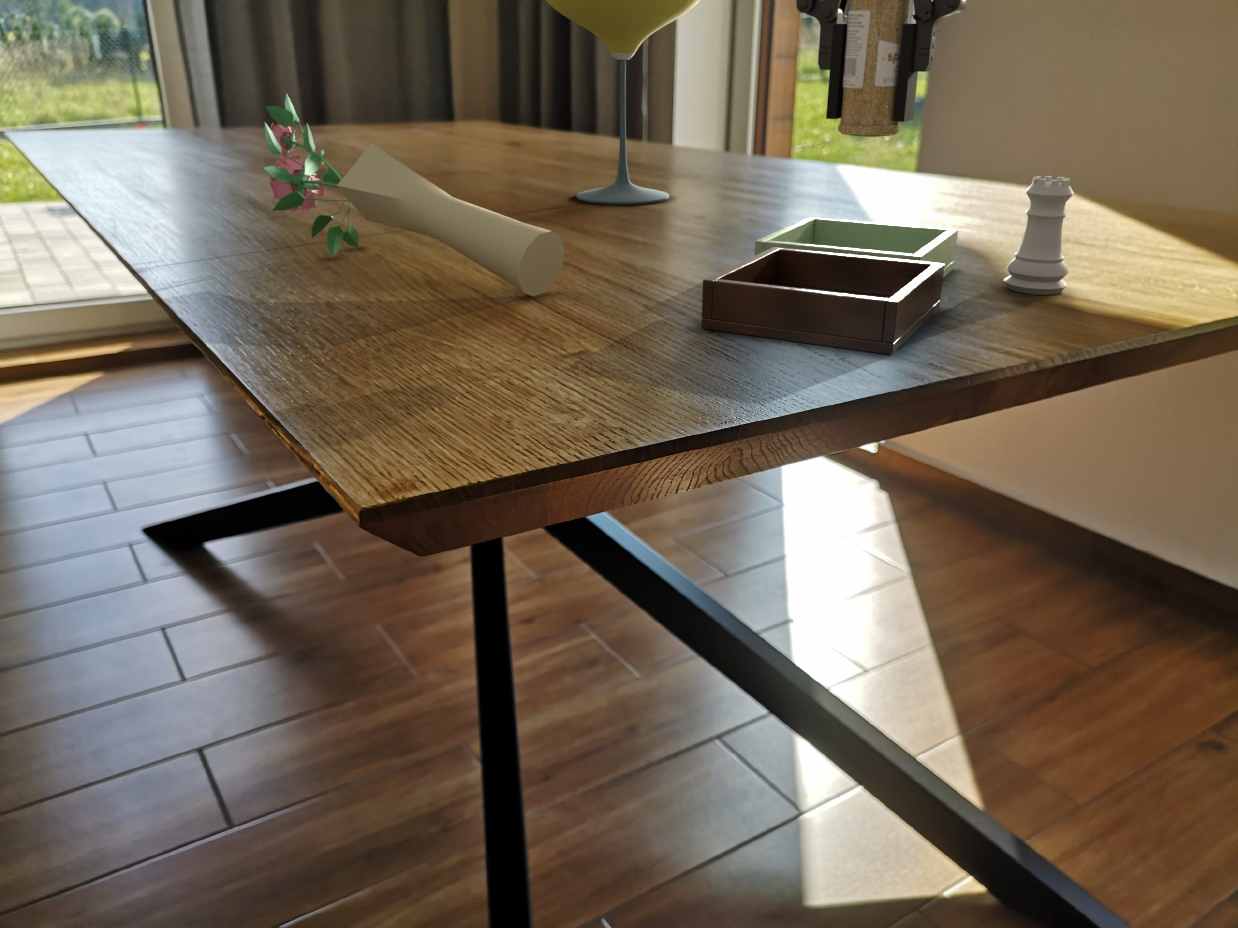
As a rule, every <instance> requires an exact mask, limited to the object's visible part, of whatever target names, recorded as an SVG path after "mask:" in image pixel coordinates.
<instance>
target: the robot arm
mask: <svg viewBox="0 0 1238 928" xmlns="http://www.w3.org/2000/svg"><path fill="white" fill-rule="evenodd" d="M912 1H913V11H914V14H912V15H911V16H912V19H913V20H914V21H915V23H909V24H903V30H902V40H901V50H900V60H899V70H898V80H897V90H896V100H895V110H894V120H893V121H894V122H899V123H905V122H908V121H912V120H914V113H915V105H916V96H917V88H918V87H917V86H918V78H919V77H918V76H919V72H920V73H921V72H923V73H925V72H930V71H931V69H932V68H933V66H934V60H935V51H936V49H935V48H936V41H937V32H938V26H939V25H940V22H941V21H942V20H943V19H945V18H947V17H949V16H952V15H955V14H958V13H961V12H963V11H965V10H966V8H967V7H968V2H969V0H912ZM795 5H796V10H797V11H798V12H799V13H801V14H806V15H808V16H811V17H813V18H815V19H816V20H817V21H818V23H819V27H820V28H819V40H818V41H819V43H818V55H817V64H818V68H819V70H820V71H829V75H828V90H827V101H826V113H825V115H826V116H825V119H826V120H838V119H841V110H842V101H843V86H842V84H843V72H844V59H845V46H846V34H847V23H845V22H846V21H847V20H848V15H847V12H848V11H847V10H848V7H849V5H850V0H796V1H795Z"/></svg>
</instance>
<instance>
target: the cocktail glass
mask: <svg viewBox="0 0 1238 928" xmlns="http://www.w3.org/2000/svg"><path fill="white" fill-rule="evenodd" d="M545 1H546V2H547V3H548V5H549V6H551V7H552V8H553V9H554V10H555V11H557V12H558V13H559V14H561V15H562V16H564V17H565V18H567V19H569V20H570V21H571V22H573V23H575V24H577V25H578V26H580V27H582V28H584V29H586V30H587V31H589V32H590V33H591V34H593V35H594V36H596V37H598V38H599V40H601V41H602V42H603V44H604V45H605V47H606V48H607V49H608V51H609V53H610V54H611V55H612V57H613V58H614V59H616V60H618V61H619V94H620V95H619V154H618V165H617V166H618V167H617V174H616V177H615V181H614V183H612V184H610V185H608V186H604V187H599V188H594V189H588V190H584V191H580V192H578V193H576V196H575V197H576V199H577V200H579V201H581V202H586V203H591V204H601V205H617V206H619V205H620V206H621V205H624V206H625V205H628V206H629V205H646V204H647V205H648V204H654V203H660V202H664V201H667V200H668V199H670V194H669V193H667V192H665V191H661V190H658V189H653V188H646V187H643V186H638V185H637V184H633V183H632V182H631V180H630V175H629V170H628V161H627V160H628V159H627V122H626V121H627V118H626V117H627V115H626V114H627V110H626V108H627V106H626V105H627V104H626V99H627V98H626V93H627V92H626V89H627V87H626V85H627V84H626V83H627V82H626V80H627V79H626V78H627V77H626V76H627V74H626V73H627V66H626V65H627V62H626V61H629V60H630V59H632V58H633V56H635V55H636V52H637V51H638V50H639V47H640V46H641V45H642V43H644V41H645V40H646V39H647V38H649V37H650V36H651V35H653V34H654V33H655V32H657V31H659V30H660V29H663V28H664V27H666V26H667V25H669V24H671V23H673V22H675V21H676V20H678V19H679V18H680V17H682V16H684V15H686V14H687V13H688V12H689V11H691V10H692V9H694V7H695V6H696V5H698V3H699V2H700V1H701V0H545Z"/></svg>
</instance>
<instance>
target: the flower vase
mask: <svg viewBox="0 0 1238 928" xmlns="http://www.w3.org/2000/svg"><path fill="white" fill-rule="evenodd" d="M265 109H266V111H267V112H268V114H269V115H270V117H271V118H272V119H273V120H274V122H276V123H277V124H275V123H274V122H272V123H271V125H270V127H269V125H268V124H267V123H266V122H265V121H264V122H263V123H264V124H263V127H264V128H263V129H264V130H263V131H264V138H265V142H266V144H267V147H268V149H269V150H270V153H272V155H277V156H278V157H279V156H281V155H282V157H283V160H282V161H280V160H279V159H276V161H275V164H274V165H268V166H265V167H262V169H263V170H264V171H265V173H267V175H268V176H269V179H270V181H269V182H268V184H269V187H270V190H271V191H272V193H273V198H274V199H275V200H276V199H278V201H277V203H276V204H275V205H274V207H273V208H272V209H271V211H272V212H277V211H281V212H282V211H288V210H289V211H291V212H292V213H293V214H296V213H297V211H300V212H301V213H302V214H305V213H307V212H308V211H309V209H312V208H313V209H314V208H317V205H316V204H315V202H316V201H325V202H342V205H341V207H340V208H339V211H337V212H336V213H332V214H331V215H328V214H319V215H318V216H316V217H315V219H314V221H313V222H312V225H311V227H310V229H311V231H310V233H311V234H310V235H311V239H313V238H314V237H316V236H317V235H318V234H319V233H321V232H322V231H323V230H324V229H325V228H326V227H327V226H328V225H329V223H330V222H331V221H333V219H334V216H335V215H338V214H339V213H340V212H341V211H342V209H343V207H344V204H345V202H348V205H347V206H348V209H347V211H346V213H345V215H344V217H343V220H342V222H341V224H340V225H335V226H329V227H328V230H327V234H326V246H327V248H328V251H329V254H330V256H331V258H332V259H333V258H334V256H336V255H337V253H338V251H339V250H340V249H341V246H342V242H343V241H344V243H346V244H347V246H350V247H351V246H352V247H355V248H360V244H359V243H360V242H359V234H358V232H357V230H356V227H355V226H354V224H351V225H350V222H351V221H350V220H351V219H350V210H351V208H350V207H352V206H353V207H354V208H355V209H356V211H358V213H359V214H360V215H361V217H362V218H363V219H364V220H365V221H369V222H373V223H376V224H380V225H384V226H388V227H391V228H396V229H400V230H404V231H408V232H411V233H412V232H413V233H416V234H420V235H424V236H427V237H430V238H433V239H435V240H437V241H439V242H441V243H443V244H445V245H447V246H448V247H450V248H451V249H453V250H454V251H456V252H458V253H459V254H462V255H463V256H465V257H466V258H468V259H469V260H471V261H472V262H474V263H476V265H479V266H480V267H482V268H484V269H485V270H487V271H488V272H490V273H491V274H493V275H495V276H496V277H497V278H500V279H501V280H503V281H504V282H506V283H507V284H509V285H511V286H512V287H514V288H516V289H517V290H519V291H520V292H522V293H524V294H526V295H528V296H531V297H536V296H539V295H541V294H545V293H546V291H548V290H549V289H550V287H551V286H553V284H554V283H555V282H556V281H557V279H558V277H559V275H560V273H561V270H562V268H563V266H564V259H565V254H566V253H565V252H566V248H565V245H564V242H563V240H562V239H563V238H562V236H561V235H560V234H557V233H556V232H554V231H552V230H550V229H546V228H543V227H539V226H535V225H533V224H528V223H526V222H523V221H519V220H517V219H514V218H511V217H509V216H506V215H503V214H500V213H498V212H494V211H493V210H490V209H487V208H484V207H481V206H479V205H476V204H473V203H471V202H468V201H465V200H462V199H459V198H457V197H454V196H452V195H450V194H448V192H446V191H445V190H443V189H441V188H440V187H439V186H436V184H434V183H432V182H431V181H429V179H426V178H425V177H423V176H422V175H420V174H418V173H417V172H416V171H414V170H412V169H411V168H409V167H408V166H406V165H405V164H403V163H402V162H401V161H399V160H397V159H396V158H394V157H393V156H391V155H390V154H388V153H387V152H386V151H384V150H382V149H381V148H380V147H378V146H377V145H375V144H373V143H370V145H369V146H368V147H367V148H366V149H365V150H364V152H363V153H362V154H361V155H360V157H359V158H357V160H356V161H355V163H354V164H353V165H352V167H351V168H350V169H349V170H348V171H347V173H346V174H344V175H342V174H341V173H340V172H339V171H337V170H335V169H334V168H333V166H332V165H331V164H330V163H329V162H328V161H327V160H326V158H325V157H324V154H325V150H324V149H321V150H320V153H319V152H318V151H317V150H316V144H315V141H314V139H313V134H312V131H311V128H310V126H309V124H308V122H306V123H305V126H304V130H303V127H302V125H301V124H300V121H301V120H300V119H299V117H298V115H297V112H296V109H295V107H294V105H293V103H292V101H291V98H290V97H289V95H288V93H285V97H284V107H281V106H278V105H265ZM295 122H296V123H297V124H298V125H299V126H298V125H297V124H296V123H295ZM292 125H294V126H296V127H297V128H298V129H299V130H300V131H301V133H302V135H303V143H301V142H298V139H299V136H296V132H297V130H296V127H293V126H292ZM294 147H295V148H297V147H301V148H303V149H305V151H306V152H308V153H309V154H308V155H307V156H306V158H305V160H304V163H303V161H302V160H301V155H300V154H295V155H293V156H288V155H289V154H290V155H291V154H293V152H292V151H293V150H294ZM324 164H325V165H326V166H327V169H326V171H325V167H324ZM320 165H321V166H322V170H323V175H320V174H319V173H320V170H319V169H320ZM323 186H327V187H332V188H335V189H339V190H340V191H341V192H342V194H343V195H344V196H345V197H346V199H324V198H323V199H321V198H315V195H316V196H319V197H325V196H326V191H325V190H324V187H323ZM308 189H309V190H310V191H309V190H308ZM299 209H300V210H299ZM347 214H348V217H347V218H348V224H347V225H348V226H347V229H346V230H345V231H344V230H343V229H342V228H341V227H342V225H343V224H344V221H345V219H346V216H347Z"/></svg>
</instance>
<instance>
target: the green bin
mask: <svg viewBox="0 0 1238 928" xmlns="http://www.w3.org/2000/svg"><path fill="white" fill-rule="evenodd" d="M958 234H959V229H958V228H947V227H946V228H945V227H934V226H924V225H923V226H922V225H921V226H920V225H909V224H898V223H887V222H886V223H885V222H874V221H872V222H871V221H862V220H861V221H859V220H850V219H837V218H825V217H823V218H822V217H814V216H809V217H806V218H804V219H802V220H799V221H798V222H795V223H793V224H791V225H789V226H786V227H784V228H781V229H779V230H777V231H775V232H772V233H770V234H768V235H766V236H763V237H761V238H758V239H756V240H755V241H754V256H755V255H757V254H759V253H761V252H763V251H766V250H768V249H770V248H772V247H778V248H788V249H799V250H809V251H819V252H830V253H840V254H850V255H861V256H871V257H881V258H891V259H902V260H912V261H922V262H933V263H942V264H945V266H944V274H943V278H945V277H946V276H947V275H948V274H949V273H951V272H952V271H953V270H954V267H955V258H956V250H957V241H958Z"/></svg>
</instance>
